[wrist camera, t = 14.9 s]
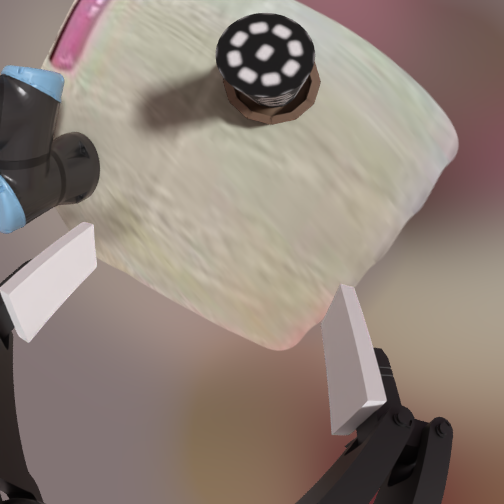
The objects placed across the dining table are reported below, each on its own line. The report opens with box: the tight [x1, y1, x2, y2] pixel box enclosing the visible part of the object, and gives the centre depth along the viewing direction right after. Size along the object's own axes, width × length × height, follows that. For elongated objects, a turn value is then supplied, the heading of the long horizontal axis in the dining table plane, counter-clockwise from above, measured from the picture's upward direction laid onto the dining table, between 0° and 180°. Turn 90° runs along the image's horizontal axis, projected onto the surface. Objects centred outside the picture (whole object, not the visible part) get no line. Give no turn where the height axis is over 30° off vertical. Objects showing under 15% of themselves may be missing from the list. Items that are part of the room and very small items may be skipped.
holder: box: [223, 62, 321, 125], centre depth 34 cm, size 13×13×4 cm
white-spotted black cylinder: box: [216, 13, 315, 108], centre depth 27 cm, size 8×8×20 cm
